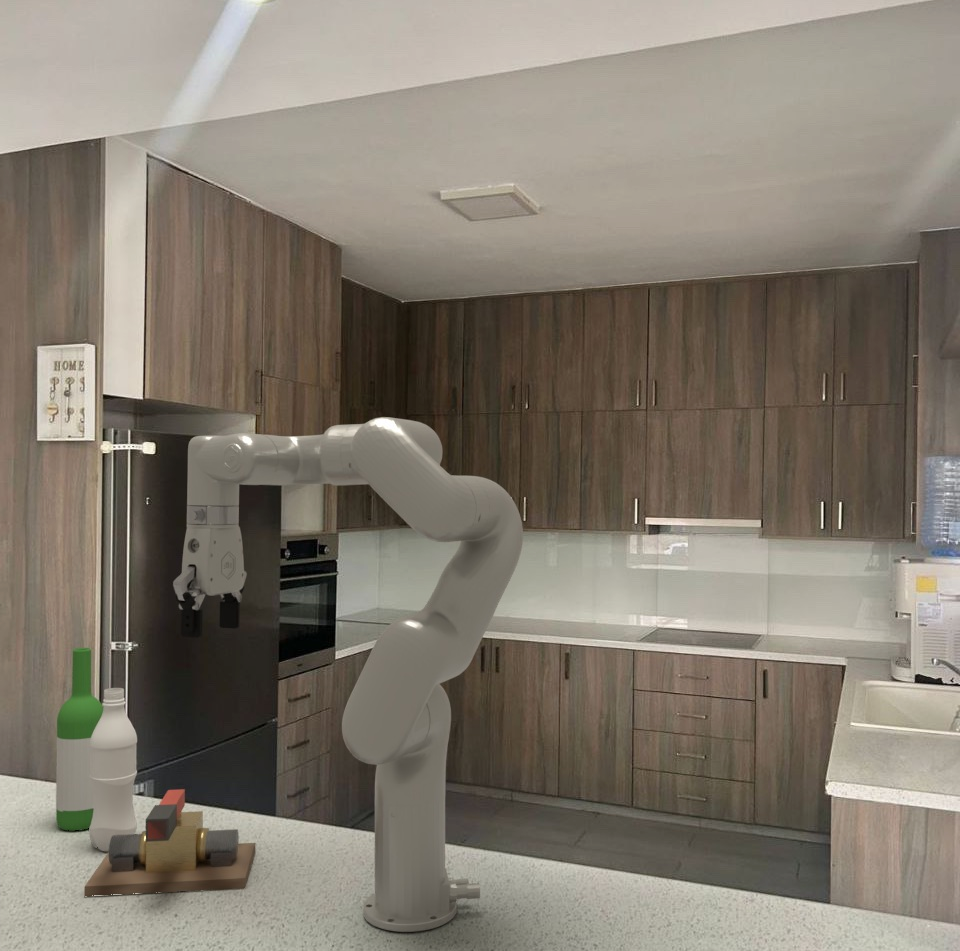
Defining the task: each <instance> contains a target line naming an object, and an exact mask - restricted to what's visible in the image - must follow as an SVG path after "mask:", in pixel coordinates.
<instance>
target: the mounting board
mask: <svg viewBox="0 0 960 951" xmlns="http://www.w3.org/2000/svg"><path fill="white" fill-rule="evenodd" d="M255 856H256V842H250V843H249V842H247V843H246V842H244V843H238V854H237V858H234V860H233V863H232V866H223V867H211V859H208V861H207V862H199V864H198V866H197V868H196V870H195V871H175V872H156V873H146V865H140V863H138V864H137V866H136V867H135V869H134V871H125V872H112V864H110V862H109V851H107V854H106V855H105V856H104V858H103V860H101V862H100V864H99V865H98V866H97V867H96V869H95V871H94V872H93V874H92V875H91V877H89V880H88V881H87V882H86V884H85V885H84V898H86V897H85V896H92V895H93V896H94V895H111V894H112V895H113V894H133V893H134V894H135V893H154V894H159V893H158V892H173V893H181V892H180V891H191V892H202V891H201V890H210V891H225V890H245V889H246V887H247V883H248V879H249V876H250V872H251V869H252V866H251V865H253V862H254V859H255ZM253 858H254V859H253ZM244 888H245V889H244ZM177 891H179V892H177ZM156 892H157V893H156Z"/></svg>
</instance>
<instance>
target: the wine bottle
mask: <svg viewBox="0 0 960 951" xmlns="http://www.w3.org/2000/svg"><path fill="white" fill-rule="evenodd" d="M71 676H72V679H71V680H72V681H71V684H72V686H71V688H72V689H71V695H70V697H69V698H68V699H67V700H66V701H65V702H64V703H63V704H62V705H61V707H60V709H59V711H58V714H57V719H56V773H55V774H56V775H55V776H56V788H55V791H56V794H55V795H56V796H55V799H56V800H55V802H56V804H55V806H56V808H55V809H56V810H55V811H56V814H55V816H56V817H55V820H56V825H57V827H58V828H59V829H61V830H64V831H68V830H69V831H70V832H76V831H75V830H79V831H83V830H84V829H86V830H89V829H88V828H90V825H91V821H92V817H93V810H94V793H93V786H92V782H91V778H90V762H91V747H90V740H91V736H92V734H93V731H94V729H95V727H96V725H97V724H98V722H99V720H100V718H101V716H102V713H103V709H104V706H102V703H101V701H100V700H99V699H98V698H96V697H95V696H94V695H93V694H92V649H91V648H90V647H79V648H78V647H77V648H74V649H73V650H72V675H71ZM69 831H68V832H69Z"/></svg>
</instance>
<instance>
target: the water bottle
mask: <svg viewBox="0 0 960 951" xmlns="http://www.w3.org/2000/svg"><path fill="white" fill-rule="evenodd" d="M124 696H125V689H124V688H122V687H111V688H106V689H104V691H103V700H102V701H103V702H102V703H101V704H102V706H103V708H104V709H103V713H102V716H101V718H100V720H99V722H98V724H97V725H96V727H95V729H94V731H93V734H92V736H91V740H90V747H91V762H90V778H91V782H92V786H93V793H94V810H93V817H92V821H91V825H90V828H89V829H88V832H89V840H90V842H91V844H92V846H93V847H94V848H95V847H98V848H97V849H98V850H99V851H101V850H102V851H101V852H109V845H110V840H111V837H112V836H113V835H125V834H136V832H137V828H138V821H137V818H136V815H135V810H134V802H133V801H134V800H133V798H134V797H133V795H134V792H133V791H134V786H135V785H134V784H135V780H136V777H137V774H138V770H137V743H138V735H137V732H136V729H135V728H134V726H133V723H132V722H131V720H130V719H129V717H128V715H127V712H126V708H125V705H126V704H127V702H126V701H125V697H124Z"/></svg>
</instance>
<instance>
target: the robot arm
mask: <svg viewBox="0 0 960 951" xmlns="http://www.w3.org/2000/svg"><path fill="white" fill-rule="evenodd" d="M187 447H188V448H187V488H186V489H187V490H186V491H187V492H186V493H187V496H186V497H187V498H186V531H185V537H184V543H183V550H182V552H183V553H182V562H181V573H180V575H178V576H177V577H176V578H175V579H174V580H173V582H172V583H173V584H172V586H173V590H174V592H175V600H176V601H177V602H178V608H179V610H181V611H180V613H181V615H180V616H181V619H180V620H181V621H180V622H181V623H180V635H181V637H185V638H201V637H203V609H201V605H202V603H203V601H204V599H205V597H206V595H207V596H212V597H213V596H220V598H221V599H222V601H219V623H218V624H219V627H220V628H221V629H239V628H240V608H241V607H240V605H241V602H242V598H243V591H244V589H245V582H246V579H247V575H248V573H247V571H245V566H244V565H245V564H244V550H243V549H244V547H243V539H242V538H243V536H242V531H241V527H240V526H239V521H240V519H239V517H240V516H239V514H240V513H239V512H240V511H239V509H240V507H239V505H240V485H244V486H246V485H247V486H260V485H262V486H295V485H296V486H299V485H301V486H302V485H321V484H322V485H325V484H327V485H328V484H329V485H330V484H331V485H332V486H356V485H369V486H370V487H371V488H372V489H373V491H374V492H375V493H377V494H378V496H379V497H380V498H381V499H382V500H383V501H384V502H385V503H387V505H388V506H389V507H390V508H391V509H392V510H393V511H394V512H395V513H396V514H397V515H398V516H399V517H400V518H401V519H402V520H403V521H404V522H405V523H406V524H407V525H408V526H409V527H411V529H413V531H415V532H416V533H417V534H419V535H420V536H422V537H423V538H425V539H427V540H430V541H433V542H435V543H436V542H437V543H450V542H451V543H452V542H460V544H459V547H458V548H457V550H456V551H455V554H454V555H453V556H452V557H451V559H450V560H449V562H448V563H447V564H446V566H445V567H444V569H443V571H442V573H441V574H440V576H439V579H438V581H437V584H436V586H435V587H434V589H433V592H432V594H431V595H430V597H429V599H428V601H427V602H426V604H425V606H423V608H422V609H420V610H419V611H417V612H415V613H410V614H407V615H404V616H401V617H398V618H397V619H395V620H394V621H392V622H391V623H390V624H389V625H387V627H386V628H385V629H384V630H383V631H382V632H381V634H380V635H379V637H378V638H377V640H376V641H375V643H374V644H373V647H372V649H371V652H370V653H369V656H368V658H367V660H366V662H365V664H364V666H363V668H362V670H361V672H360V674H359V676H358V679H357V681H356V683H355V685H354V688H353V689H352V691H351V693H350V696H349V698H348V700H347V703H346V706H345V708H344V711H343V714H342V719H341V720H342V722H341V732H342V734H341V735H342V739H343V741H344V744H345V746H346V748H347V750H348V751H349V753H350V754H351V755H352V757H354V758H355V759H357V760H358V761H360V762H362V763H365V764H367V765H376V767H375V768H376V769H375V778H374V779H375V780H374V893H372V894H371V895H370V896H368V897H367V898H366V899H365V901H364V902H363V905H362V915H363V917H364V919H365V920H366V922H368V923H369V924H370V925H372V926H374V927H376V928H377V929H378V928H379V929H382V930H385V931H390V932H397V933H399V932H400V933H415V932H422V931H427V930H428V931H429V930H432V929H436V928H438V927H440V926H443V925H445V924H447V923H449V922H450V921H451V920H452V919H453V918H454V917H455V916H456V914H457V913H458V912H457V910H458V908H457V907H458V905H457V904H458V903H457V902H458V900H461V899H463V900H464V899H466V900H473V899H474V900H475V899H477V900H478V899H481V886H480V883H479V882H478V883H477V882H476V883H475V882H474V883H472V882H471V883H470V881H469V878H468V877H467V878H457V879H452V877H449V876H448V872H447V868H446V770H447V768H446V767H447V754H448V745H449V739H450V732H451V726H452V725H451V724H452V708H451V702H450V700H449V697H448V694H447V692H446V690H445V689H444V688H443V686H442V685H441V684H442V683H445V682H447V681H449V680H451V679H453V678H456V677H457V676H460V675H461V674H463V672H465V671H466V670H467V668H468V667H469V666H470V664H471V662H472V661H473V658H474V656H475V654H476V652H477V650H478V648H479V645H480V643H481V642H482V639H483V637H484V635H485V633H486V631H487V629H488V627H489V625H490V623H491V621H492V620H493V617H494V615H495V612H496V610H497V609H498V608H497V607H498V605H499V604H500V600H501V599H502V596H503V595H504V593H505V591H506V589H507V587H508V585H509V583H510V581H511V579H512V577H513V575H514V572H515V571H516V567H517V566H518V563H519V560H520V556H521V553H522V548H523V541H524V540H523V539H524V530H523V529H524V527H523V522H522V518H521V515H520V512H519V509H518V507H517V504H516V503H515V501H514V500H513V498H512V497H511V495H510V494H509V492H507V490H506V489H504V487H502V486H501V485H500V484H498V483H497V482H496V481H493V480H491V479H489V478H486V477H484V476H483V477H482V476H477V475H455V474H454V475H452V474H450V473H448V472H447V471H446V470H445V469H444V467H442V466H441V463H442V459H443V445H442V442H441V439H440V437H439V435H438V434H437V432H435V430H433V429H432V428H431V427H430V426H429V425H427V424H425V423H423V422H421V421H417V420H416V421H415V420H411V419H404V418H397V417H396V418H395V417H389V416H388V417H386V416H381V417H375V418H372V419H369V421H367V422H365V423H359V424H358V423H356V424H355V423H354V424H353V423H352V424H336V425H332V426H330V427H329V428H327V429H326V430H325V431H324V433H322V434H315V435H314V434H312V435H295V436H290V435H289V436H283V435H281V436H280V435H274V434H260V433H249V432H248V433H247V432H239V433H232V434H228V435H196V436H194V437H192V438H190V441H189V442H188V446H187ZM194 597H195V598H194Z"/></svg>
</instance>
